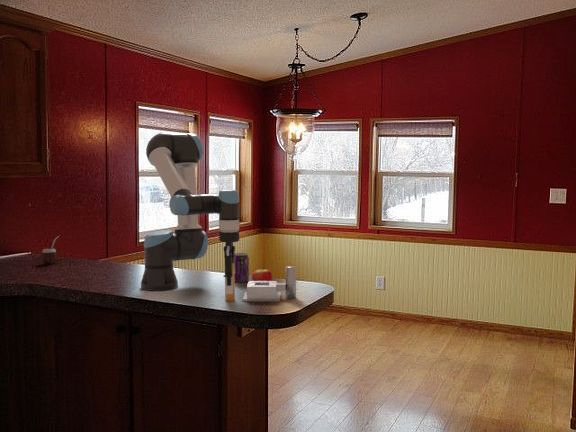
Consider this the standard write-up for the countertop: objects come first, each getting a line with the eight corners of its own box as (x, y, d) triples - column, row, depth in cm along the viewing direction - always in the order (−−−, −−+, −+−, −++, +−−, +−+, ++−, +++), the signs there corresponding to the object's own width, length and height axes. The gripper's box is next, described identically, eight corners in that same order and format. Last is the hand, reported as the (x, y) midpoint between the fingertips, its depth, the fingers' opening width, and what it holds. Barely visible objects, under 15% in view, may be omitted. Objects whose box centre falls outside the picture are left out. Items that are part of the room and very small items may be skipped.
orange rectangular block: (224, 301, 226) (224, 264, 225) (225, 299, 229) (225, 262, 228) (234, 301, 226) (233, 264, 225) (235, 299, 229) (234, 262, 228)
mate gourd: (40, 264, 310) (38, 235, 309) (55, 262, 315) (54, 234, 314) (45, 266, 304) (44, 236, 303) (61, 264, 310) (60, 235, 308)
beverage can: (246, 283, 260) (246, 255, 259) (230, 282, 262) (230, 255, 261) (250, 279, 267) (250, 253, 266) (235, 279, 268) (235, 252, 267)
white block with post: (242, 301, 225) (242, 269, 224) (245, 294, 237) (244, 264, 236) (296, 301, 225) (296, 269, 224) (295, 294, 237) (295, 264, 236)
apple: (264, 290, 245) (264, 266, 244) (247, 288, 249) (247, 264, 248) (275, 287, 252) (275, 263, 251) (259, 285, 256) (259, 261, 255)
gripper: (237, 233, 217) (237, 297, 219) (241, 228, 233) (241, 288, 235) (216, 233, 217) (217, 297, 219) (221, 228, 233) (222, 288, 235)
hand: (229, 292), depth 227 cm, fingers closed on orange rectangular block, 3 cm apart
